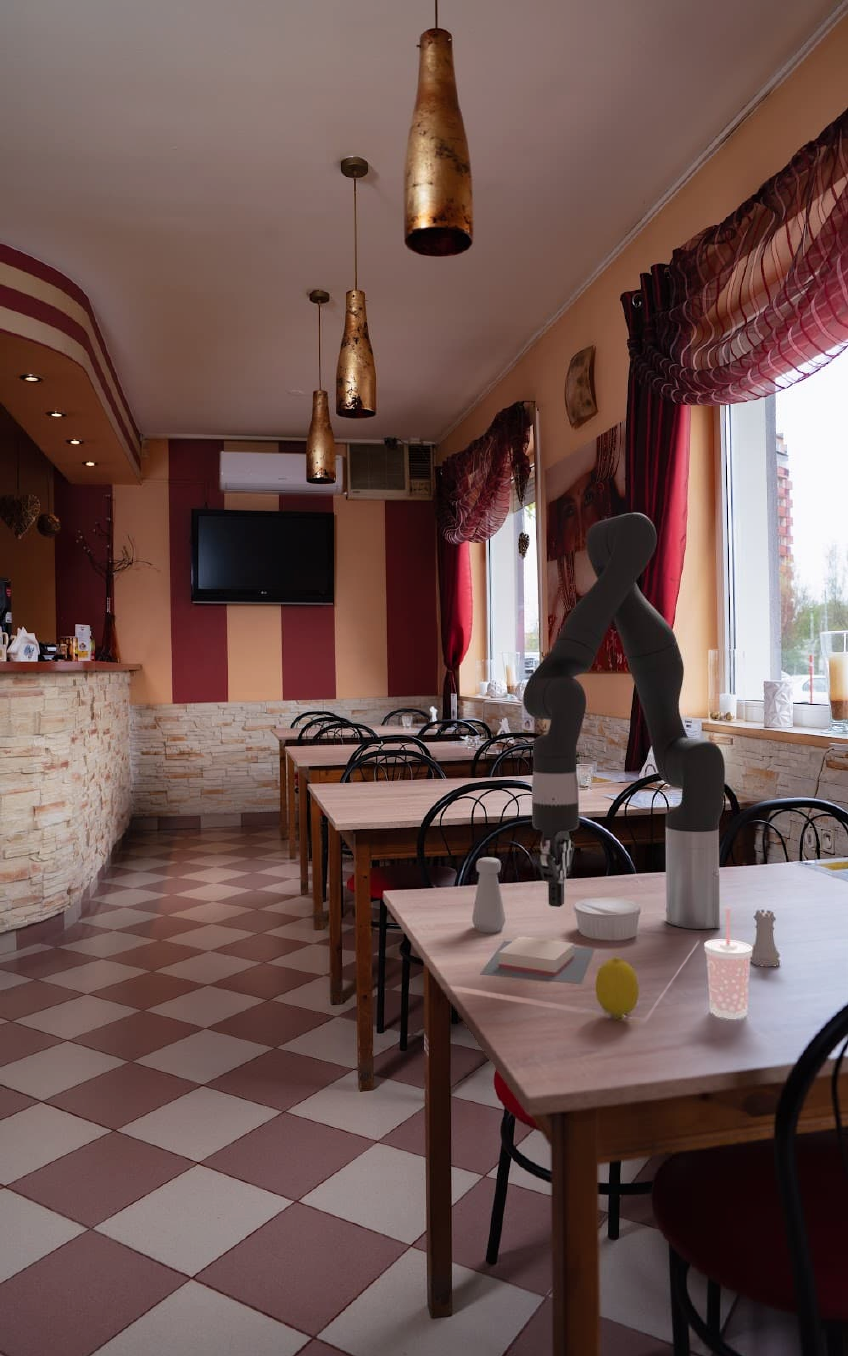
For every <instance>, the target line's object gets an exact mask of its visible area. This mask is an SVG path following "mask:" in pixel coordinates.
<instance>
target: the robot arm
mask: <svg viewBox="0 0 848 1356" xmlns="http://www.w3.org/2000/svg"><path fill="white" fill-rule="evenodd" d="M585 537H586V539H585V542H586V543H585V548H586V552H587V556H588V560H589V562H590V565H591V568H592V569H593V572H594V574H595V576H596V579H597V580H596V581H595V583H593V585H592V586H591V587H590V588H589V590H588V591H587V592H586V593H585V594H584V595H583V596H582V597H581V599H579V601H578V602H577V604H575V606H574V607H573V609H571V610H570V613H569V614H568V616H567V617H566V619H565V621H564V623H563V625H562V627H561V629H560V632H559V633H558V636H557V638H556V639H555V642H554V645H553V646H552V649H551V650H550V652H549V653H548V654H547V655H546V656H545V657H544V658H543V660H542V661H541V663H540V664H539V665H538V667H536V669H535V670H534V671H533V673H532V674H531V675H530V677H529V678H528V681H527V683H526V685H525V687H524V691H523V698H522V700H523V707H524V709H525V710H526V713H527V714H529V716H530V717H532V718H534V719H537V720H549V721H550V725H549V728H548V731H547V733H545V734H542V735H539V736H537V737H536V738H535V739H534V741H533V743H532V744H533V745H532V746H533V747H532V762H533V763H532V767H533V768H532V770H533V772H532V780H531V781H532V782H531V817H532V819H531V821H532V823H531V824H532V827H533V828H534V829H535V830H540V831H541V832H542V837H541V840H540V851H541V853H536V856H535V861H536V864H537V867H538V870H539V872H540V876H541V879H542V881H543V882H546V883H547V884H548V885H547V887H548V894H547V895H548V905H549V906H551V907H557V908H561V906H563V905H564V904H565V882H566V881H567V876H569V875H570V872H571V865H572V861H573V856H574V850H575V847H576V846H575V842H573V841H571V839H570V833H569V832H571V831H575V830H577V829H578V828H579V827H580V815H579V814H580V813H579V812H580V809H579V808H580V807H579V805H580V804H579V801H580V800H579V799H580V798H579V793H580V792H579V780H578V773H577V746H578V742H579V738H580V734H581V730H582V726H583V721H584V718H585V713H586V709H587V696H586V692H585V689H584V687H583V686H582V684H581V683H580V681H578V680H577V679H576V678H575V677H576V676H580V675H582V674H585V673H586V672H588V671H589V670H590V669H591V667H592V665H593V664H594V661H595V659H596V657H597V654H598V652H599V650H600V648H601V645H602V642H603V641H604V639H605V636H606V634H607V631H608V629H609V627H610V626H611V623H612V622H613V620H614V624H615V627H616V630H617V633H618V635H619V639H620V642H621V645H622V649H623V653H624V655H625V658H626V662H627V665H628V668H629V672H630V674H631V676H632V679H633V682H634V685H635V688H636V692H637V695H638V698H639V702H640V705H641V709H642V712H643V715H644V718H645V722H646V727H647V729H648V735H649V736H648V737H649V739H650V744H651V749H652V755H653V759H654V764H655V766H656V767H655V768H656V770H657V773H658V775H659V777H660V778H661V780H662V781H663V782H664V783H665V784H667V785H668V786H671V787H674V788H677V789H682V790H681V792H682V793H681V800H680V803H679V805H677V806H676V807H673V808H670V809H668V810H667V812H666V814H665V912H666V913H665V915H666V917H665V918H666V919H665V920H666V922H667V923H668V924H670V925H671V926H675V927H680V928H684V929H694V930H698V929H699V930H704V929H706V930H707V929H720V927H721V926H720V925H721V924H720V923H721V921H720V920H721V919H720V911H721V910H720V909H721V908H720V904H721V903H720V900H721V899H720V846H719V845H720V843H719V842H720V838H719V837H720V834H719V833H720V832H719V831H720V829H719V828H720V826H719V825H720V819H721V816H722V814H723V810H724V805H725V804H724V801H725V800H724V798H725V782H726V780H725V778H726V768H725V767H726V765H725V760H724V759H725V758H724V755H723V752H722V750H721V748H720V747H719V746H718V745H717V744H716V743H715V742H713V741H710V740H708V739H707V740H706V739H699V738H689V736H688V734H687V731H686V730H685V726H684V724H683V720H682V718H681V717H682V716H681V712H680V697H681V694H682V693H681V692H682V688H683V683H684V681H683V680H684V677H685V676H684V675H685V673H684V672H685V666H684V662H683V661H684V660H683V659H682V658H683V657H682V654H681V650H680V648H679V644H678V641H677V638H676V636H675V633H674V631H673V628H672V627H671V626H670V624H669V623H668V622H667V620H666V619H665V618H664V617H663V616H662V615H661V613H659V612H658V610H657V609H655V607H654V606H653V605H652V604H651V603H650V602H649V601H648V600H647V599H646V597H645V596H644V595H643V593H642V592H641V590H640V588H639V586H638V584H637V581H638V579H639V578H640V575H641V574H642V573H643V571H644V570H645V569H646V567H647V565H648V564H649V562H650V560H651V558H652V557H653V555H654V552H655V550H656V547H657V541H658V537H657V531H656V527H655V525H654V523H653V522H652V521H651V519H650V518H649V517H647V516H646V515H645V514H643V513H641V512H630V513H624V514H620V515H617V516H613V517H610V518H609V517H608V518H605V519H602V520H599V521H597V522H595V523H593V524H592V525H591V526H590V527H589V528H588V531H587V533H586V536H585Z"/></svg>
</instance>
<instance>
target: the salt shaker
mask: <svg viewBox="0 0 848 1356" xmlns="http://www.w3.org/2000/svg"><path fill="white" fill-rule="evenodd" d="M501 867H502V863H501V860H500V859H498V858H496V857H492V856H490V857H489V856H486V857H484V856H483V857H481V858H479V859H478V860H477V861H476V863H475V869H476V872H478V873H479V875H478V881H477V886H476V887H477V888H476V893H475V899H474V900H475V901H474V904H473V905H474V906H473V912H472V917H471V920H472V923H473V926H474V929H475V930H476V931H478V932H480V933H484V934H495V933H498V932H502V930H503V928H504V926H505V922H506V914H505V913H506V912H505V908H504V905H503V899H502V894H501V893H502V892H501V888H500V884H499V878H498V877H499V876H498V873H500V872H501V869H502V868H501Z"/></svg>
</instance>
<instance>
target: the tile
mask: <svg viewBox="0 0 848 1356" xmlns="http://www.w3.org/2000/svg"><path fill="white" fill-rule="evenodd" d="M511 942H512V943H510V944H509V945H507V946H506V947H505V948H503V949H502V950H501V951H499V968H504V969H510V970H517V971H523V972H529V973H536V974H542V975H548V976H556V975H557V974H559V973H560V972H561V971H562V970H563V969H564V968H565V967H566V966H567V965H568V964H569V963H570V962H571V961H572V960H573V959H574V947H575V944H574V943H572V942H565V941H558V940H550V939H543V938H536V937H530V936H529V937H528V936H522V935H521V936H518V937H517V938H515V939H514V940H513V941H511Z"/></svg>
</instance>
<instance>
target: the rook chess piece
mask: <svg viewBox="0 0 848 1356" xmlns="http://www.w3.org/2000/svg"><path fill="white" fill-rule="evenodd" d="M753 918H754V920H755V921H756V925H755V929H756V935H755V942H754V944H753V946H752V948H753V951H752V956H751V957H750V962H751V963H752V962H753V963H755V964H758V965H763V966H774V965H777V964H778V965H780V963H781V960H780V959H779V958H780V957H781V954H780V952H779V951H778V948H777V947H776V944H775V938H774V930H775V927H774V926H773V925H774V922H775V921H776V920H777V918H776V917H775V915H774V911H771V910H769V909H767V910H766V912H765V909H757V910H756V911H755V914H754V916H753ZM753 963H752V964H753ZM755 964H754V965H755ZM758 965H757V966H758ZM763 966H762V967H763Z"/></svg>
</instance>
